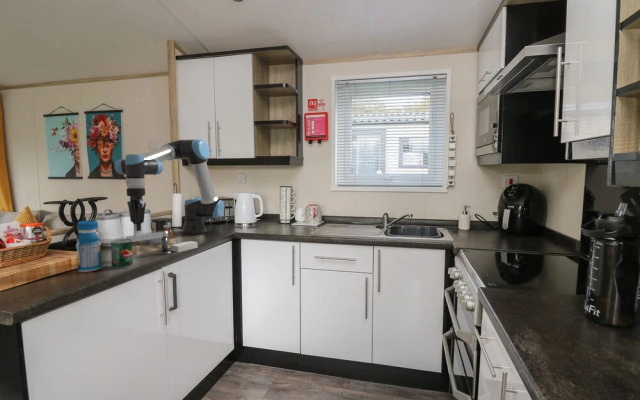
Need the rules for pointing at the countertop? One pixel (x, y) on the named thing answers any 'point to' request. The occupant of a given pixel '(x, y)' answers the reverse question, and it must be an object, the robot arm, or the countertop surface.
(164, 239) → the lever post
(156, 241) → the grey rectangular block
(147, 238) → the latch lever
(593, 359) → the countertop surface
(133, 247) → the hand plane
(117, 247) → the canned tomato
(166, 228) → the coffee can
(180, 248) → the block
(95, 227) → the beverage bottle
